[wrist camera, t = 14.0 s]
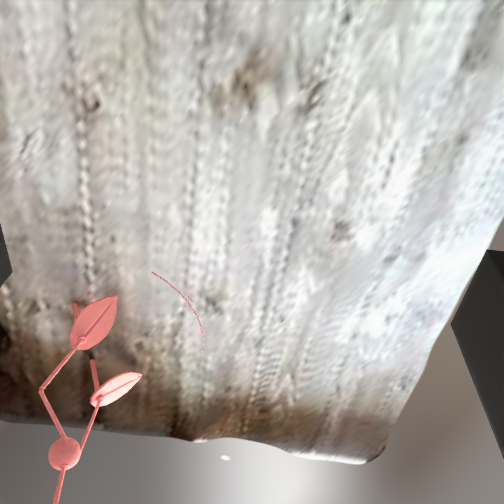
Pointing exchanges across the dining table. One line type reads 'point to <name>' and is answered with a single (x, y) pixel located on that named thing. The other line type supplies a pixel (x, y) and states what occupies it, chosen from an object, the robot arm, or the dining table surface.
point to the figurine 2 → (82, 338)
